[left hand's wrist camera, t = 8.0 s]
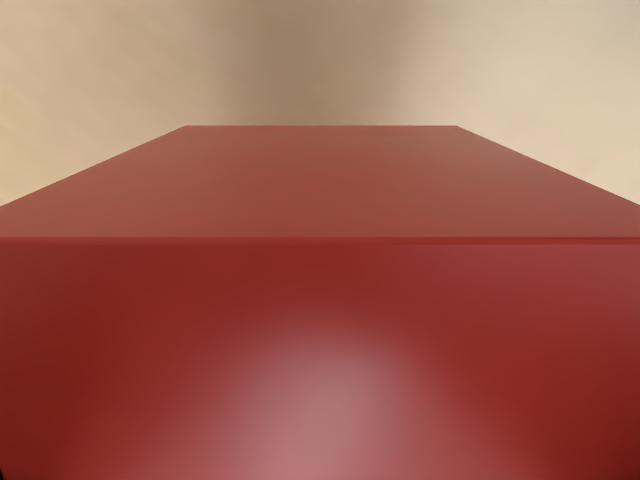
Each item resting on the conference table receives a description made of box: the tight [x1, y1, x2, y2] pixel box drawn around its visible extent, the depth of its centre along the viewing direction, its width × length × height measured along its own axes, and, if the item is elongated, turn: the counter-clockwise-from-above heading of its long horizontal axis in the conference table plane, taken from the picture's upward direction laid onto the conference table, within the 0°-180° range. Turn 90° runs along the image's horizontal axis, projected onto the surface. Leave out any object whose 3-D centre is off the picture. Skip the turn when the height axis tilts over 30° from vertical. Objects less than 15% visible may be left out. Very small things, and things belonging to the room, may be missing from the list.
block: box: [0, 126, 640, 480], centre depth 11 cm, size 9×9×10 cm
